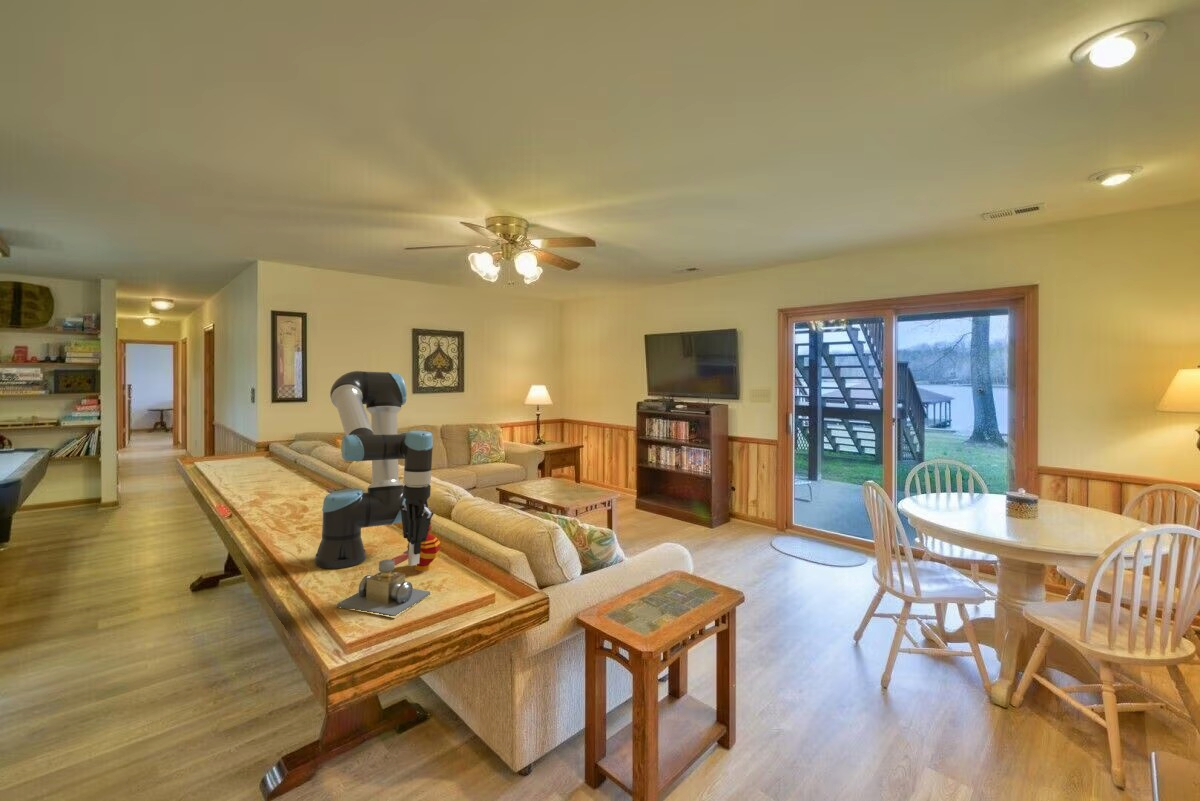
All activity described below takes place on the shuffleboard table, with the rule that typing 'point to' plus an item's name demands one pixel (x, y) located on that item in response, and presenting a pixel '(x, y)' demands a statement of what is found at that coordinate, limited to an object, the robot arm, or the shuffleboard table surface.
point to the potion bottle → (428, 552)
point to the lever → (393, 562)
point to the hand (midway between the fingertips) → (413, 563)
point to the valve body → (386, 588)
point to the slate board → (390, 609)
